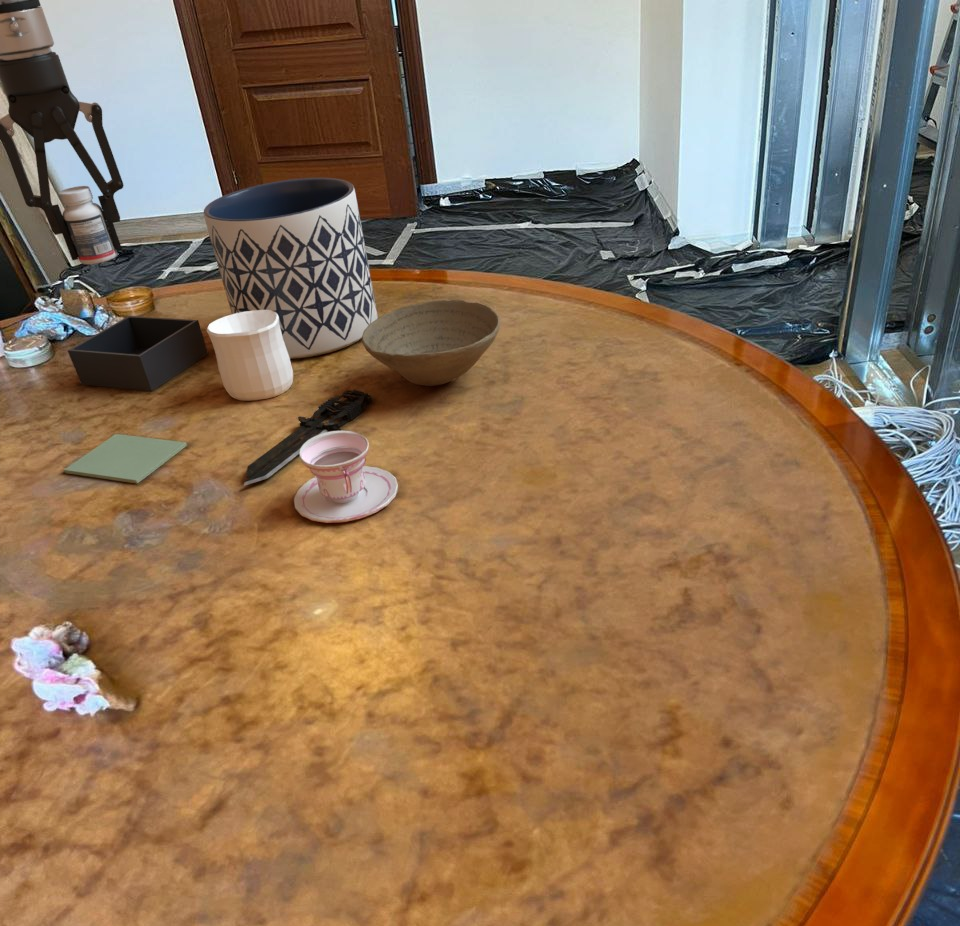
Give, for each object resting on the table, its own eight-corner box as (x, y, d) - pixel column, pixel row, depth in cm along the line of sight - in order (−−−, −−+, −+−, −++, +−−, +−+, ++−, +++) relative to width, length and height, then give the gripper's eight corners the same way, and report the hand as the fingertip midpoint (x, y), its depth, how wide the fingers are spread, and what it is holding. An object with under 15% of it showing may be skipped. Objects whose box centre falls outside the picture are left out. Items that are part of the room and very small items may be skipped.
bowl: (408, 423, 114) (398, 364, 109) (351, 379, 127) (339, 324, 122) (529, 381, 120) (524, 323, 115) (462, 343, 133) (456, 289, 128)
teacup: (285, 487, 104) (271, 440, 100) (381, 460, 107) (372, 413, 103) (308, 536, 95) (294, 486, 91) (412, 505, 98) (403, 455, 94)
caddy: (81, 384, 136) (67, 350, 133) (140, 348, 146) (128, 315, 142) (152, 391, 131) (139, 356, 128) (208, 353, 141) (198, 319, 137)
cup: (306, 387, 126) (289, 320, 120) (240, 410, 123) (220, 341, 116) (281, 368, 133) (264, 303, 126) (218, 389, 129) (197, 322, 123)
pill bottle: (85, 255, 125) (60, 187, 120) (122, 250, 125) (98, 182, 120) (75, 267, 121) (48, 197, 115) (113, 262, 121) (88, 191, 115)
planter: (371, 354, 133) (344, 209, 120) (226, 368, 135) (184, 227, 122) (385, 302, 150) (362, 171, 137) (256, 315, 152) (222, 187, 139)
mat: (65, 473, 113) (63, 469, 113) (117, 436, 120) (115, 433, 120) (137, 483, 109) (136, 480, 109) (187, 445, 116) (186, 442, 115)
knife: (254, 493, 104) (251, 483, 103) (216, 482, 107) (212, 472, 106) (383, 403, 119) (382, 393, 119) (347, 395, 123) (345, 386, 122)
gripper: (-57, 69, 103) (28, 274, 118) (103, 44, 107) (166, 244, 122) (-53, 64, 108) (28, 260, 123) (98, 40, 113) (159, 232, 128)
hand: (96, 252), depth 123 cm, fingers closed on pill bottle, 5 cm apart
